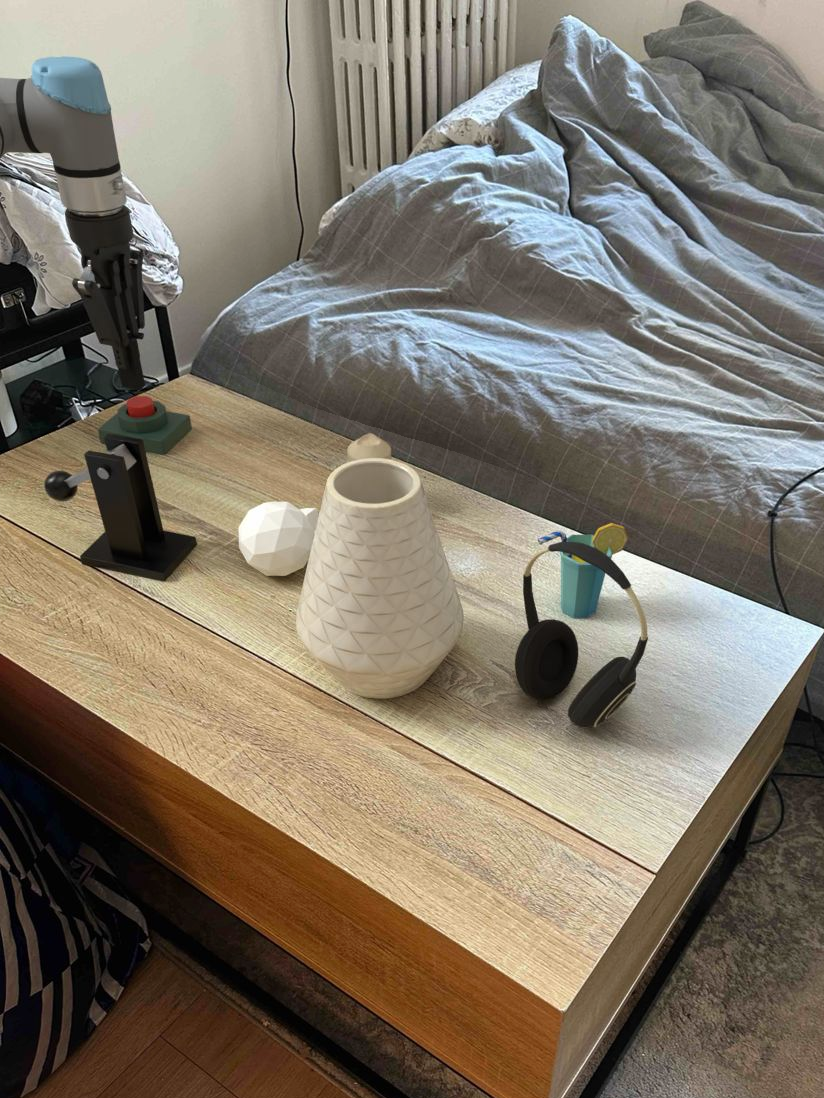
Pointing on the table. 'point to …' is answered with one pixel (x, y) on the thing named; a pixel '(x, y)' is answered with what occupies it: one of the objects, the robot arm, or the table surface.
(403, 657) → the vase
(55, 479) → the lever
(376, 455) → the candle
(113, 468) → the bracket
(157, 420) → the button box
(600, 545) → the cup
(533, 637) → the headphones
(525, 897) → the table surface
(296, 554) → the white faceted round piece
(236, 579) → the table surface
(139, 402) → the button
